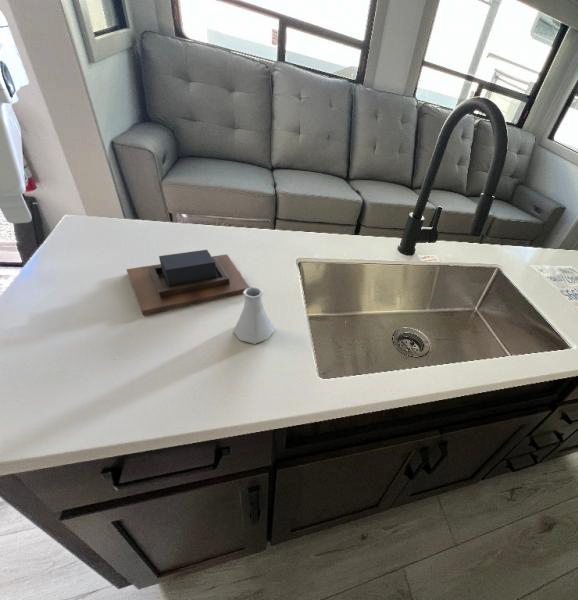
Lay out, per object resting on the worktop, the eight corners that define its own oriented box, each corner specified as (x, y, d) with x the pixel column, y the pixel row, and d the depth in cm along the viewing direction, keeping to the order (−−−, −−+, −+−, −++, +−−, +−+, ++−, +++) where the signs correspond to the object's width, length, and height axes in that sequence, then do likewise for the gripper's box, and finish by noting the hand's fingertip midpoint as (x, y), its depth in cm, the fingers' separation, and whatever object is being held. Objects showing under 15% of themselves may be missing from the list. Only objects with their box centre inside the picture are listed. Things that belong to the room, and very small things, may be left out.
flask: (281, 329, 68) (282, 291, 62) (255, 349, 62) (253, 309, 56) (254, 314, 70) (252, 275, 64) (225, 332, 64) (221, 292, 58)
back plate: (143, 315, 62) (139, 304, 61) (127, 273, 70) (124, 263, 69) (250, 291, 75) (250, 282, 73) (227, 258, 83) (226, 248, 81)
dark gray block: (170, 290, 68) (165, 270, 65) (163, 275, 71) (158, 255, 68) (217, 280, 73) (215, 262, 70) (209, 268, 76) (207, 249, 73)
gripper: (-92, 27, 33) (-20, 167, 41) (-138, 70, 22) (-28, 249, 30) (3, 42, 36) (52, 168, 45) (3, 86, 26) (66, 240, 34)
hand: (19, 201), depth 37 cm, fingers open, 8 cm apart
